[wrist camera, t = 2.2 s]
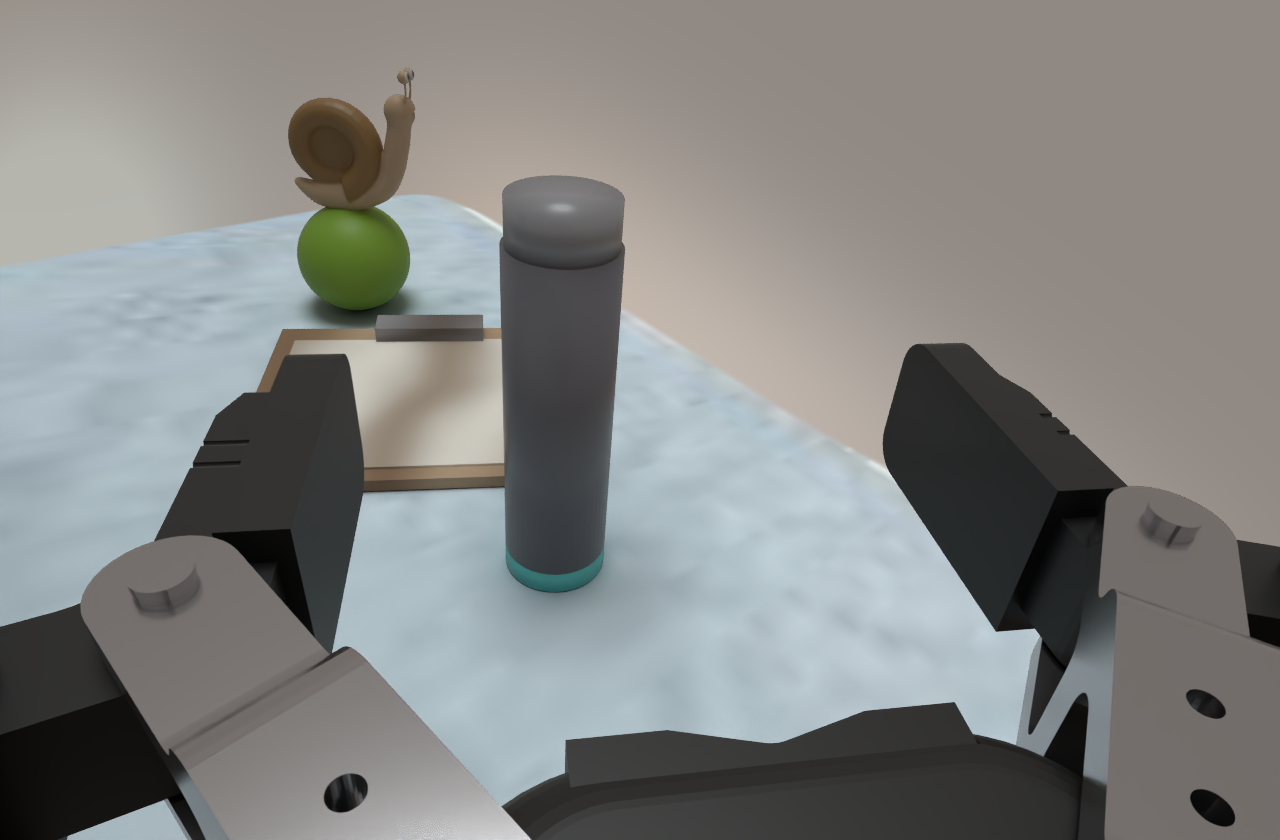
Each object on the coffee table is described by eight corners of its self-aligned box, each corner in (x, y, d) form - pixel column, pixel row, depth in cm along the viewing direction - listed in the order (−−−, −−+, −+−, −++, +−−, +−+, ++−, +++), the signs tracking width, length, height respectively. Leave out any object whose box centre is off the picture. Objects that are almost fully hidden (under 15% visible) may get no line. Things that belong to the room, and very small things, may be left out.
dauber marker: (507, 595, 27) (499, 217, 20) (505, 526, 30) (497, 172, 23) (608, 588, 28) (637, 220, 20) (597, 521, 30) (619, 176, 23)
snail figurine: (413, 336, 41) (390, 83, 34) (287, 322, 41) (240, 67, 34) (444, 290, 45) (430, 58, 39) (331, 277, 46) (297, 45, 39)
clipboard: (219, 496, 30) (211, 468, 29) (284, 338, 40) (279, 314, 39) (598, 482, 32) (600, 456, 32) (572, 336, 42) (573, 313, 41)
